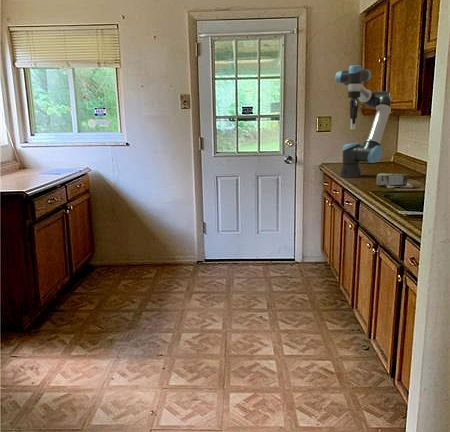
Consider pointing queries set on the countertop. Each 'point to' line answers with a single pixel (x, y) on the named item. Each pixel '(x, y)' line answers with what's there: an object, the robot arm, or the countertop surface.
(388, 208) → the countertop surface
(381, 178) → the coffee box
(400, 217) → the countertop surface
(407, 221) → the countertop surface
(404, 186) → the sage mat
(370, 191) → the countertop surface
